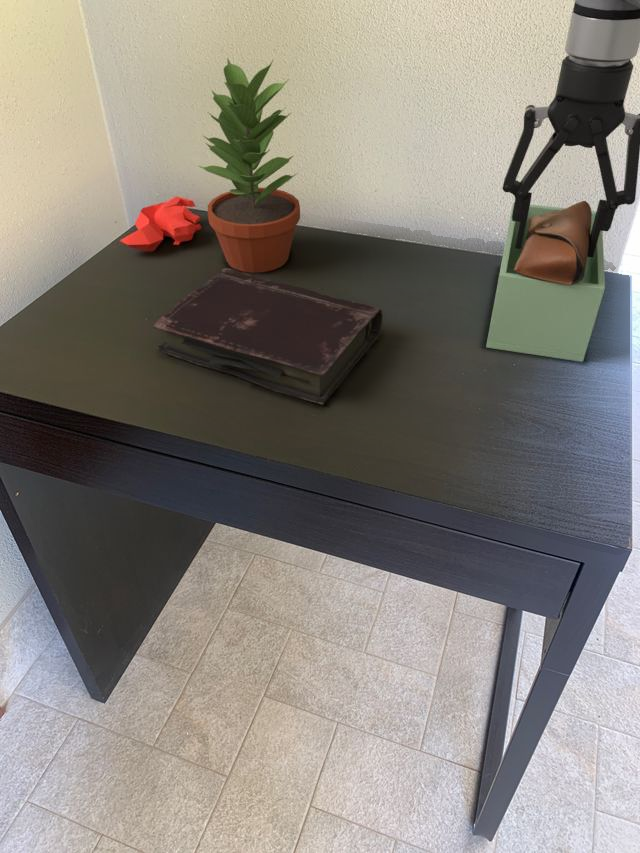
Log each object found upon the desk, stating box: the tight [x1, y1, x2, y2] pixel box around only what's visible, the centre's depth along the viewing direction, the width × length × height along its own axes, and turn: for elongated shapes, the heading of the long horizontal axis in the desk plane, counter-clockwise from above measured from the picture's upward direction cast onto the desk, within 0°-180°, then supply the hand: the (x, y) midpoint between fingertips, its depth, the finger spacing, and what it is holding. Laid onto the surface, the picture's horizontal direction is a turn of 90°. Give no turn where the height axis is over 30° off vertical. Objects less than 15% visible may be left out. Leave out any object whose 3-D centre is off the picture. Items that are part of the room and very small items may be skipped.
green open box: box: [485, 202, 606, 363], centre depth 96 cm, size 23×13×11 cm, turn 164°
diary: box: [152, 267, 383, 406], centre depth 92 cm, size 19×25×5 cm
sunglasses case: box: [514, 200, 593, 285], centre depth 89 cm, size 18×7×7 cm
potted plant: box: [198, 57, 301, 274], centre depth 102 cm, size 15×15×30 cm
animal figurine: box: [119, 196, 202, 252], centre depth 116 cm, size 12×15×5 cm
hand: (554, 247), depth 90 cm, fingers closed on sunglasses case, 8 cm apart
